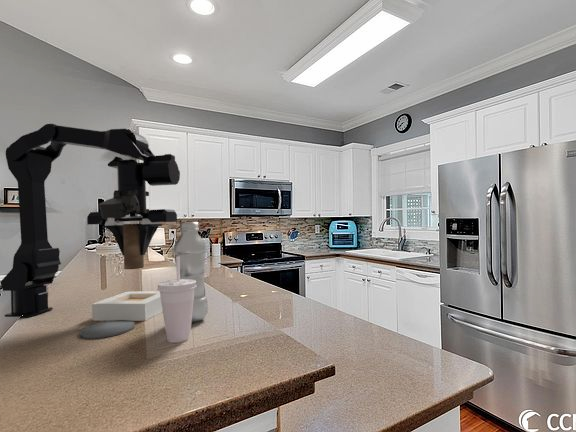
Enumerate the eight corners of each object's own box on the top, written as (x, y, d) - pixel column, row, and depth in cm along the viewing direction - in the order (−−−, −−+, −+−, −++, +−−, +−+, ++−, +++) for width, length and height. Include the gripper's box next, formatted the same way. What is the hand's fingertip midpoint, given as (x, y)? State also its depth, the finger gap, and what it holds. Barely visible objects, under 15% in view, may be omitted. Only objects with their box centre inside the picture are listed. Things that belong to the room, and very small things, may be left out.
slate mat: (68, 338, 58) (68, 335, 58) (102, 322, 67) (102, 319, 67) (114, 338, 57) (114, 335, 57) (143, 322, 66) (143, 319, 66)
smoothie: (203, 332, 59) (201, 254, 59) (189, 345, 53) (186, 258, 53) (169, 332, 60) (167, 255, 60) (151, 345, 53) (149, 259, 54)
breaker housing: (92, 320, 69) (92, 303, 69) (127, 305, 81) (126, 291, 81) (145, 320, 68) (145, 303, 68) (173, 305, 80) (172, 291, 80)
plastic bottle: (167, 324, 64) (164, 223, 65) (189, 315, 71) (187, 222, 71) (194, 327, 62) (191, 222, 62) (215, 317, 68) (212, 221, 69)
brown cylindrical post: (120, 269, 72) (119, 224, 73) (131, 266, 76) (129, 224, 77) (137, 269, 72) (135, 223, 72) (147, 266, 76) (145, 223, 76)
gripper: (66, 184, 68) (68, 260, 67) (151, 180, 65) (153, 258, 65) (103, 189, 79) (105, 254, 79) (177, 186, 77) (179, 253, 76)
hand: (133, 255), depth 74 cm, fingers closed on brown cylindrical post, 4 cm apart
